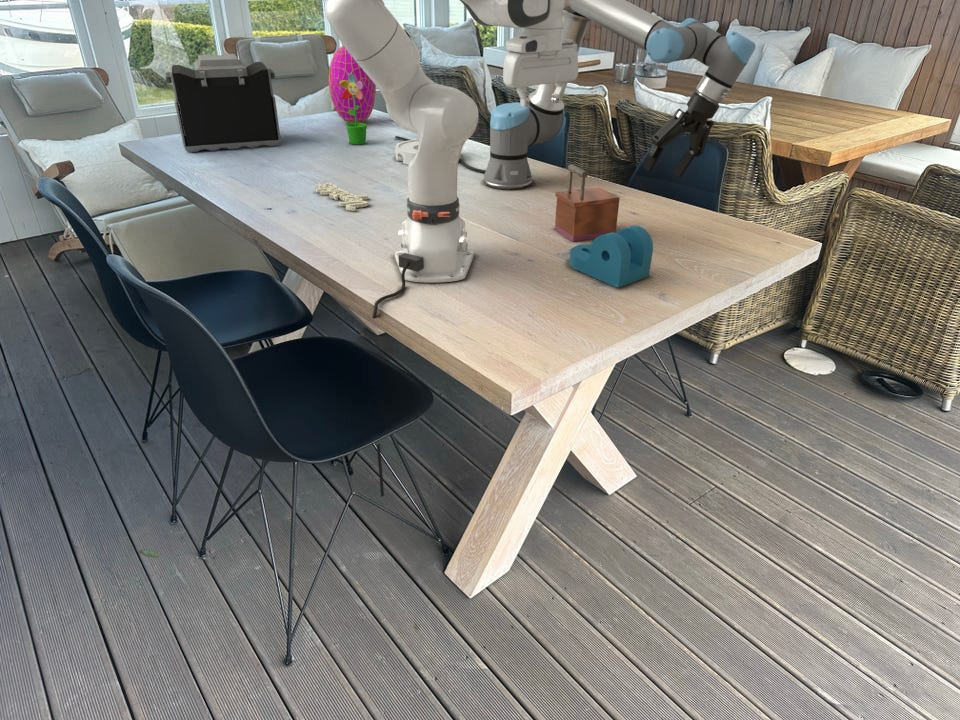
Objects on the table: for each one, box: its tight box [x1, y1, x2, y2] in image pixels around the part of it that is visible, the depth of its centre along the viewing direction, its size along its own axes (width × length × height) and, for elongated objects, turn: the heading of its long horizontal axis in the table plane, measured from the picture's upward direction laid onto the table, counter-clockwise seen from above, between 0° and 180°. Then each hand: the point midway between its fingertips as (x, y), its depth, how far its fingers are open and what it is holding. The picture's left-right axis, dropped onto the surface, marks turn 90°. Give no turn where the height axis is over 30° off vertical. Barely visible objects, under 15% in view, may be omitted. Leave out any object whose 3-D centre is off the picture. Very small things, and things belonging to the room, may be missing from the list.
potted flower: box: [339, 73, 368, 145], centre depth 255 cm, size 9×8×25 cm
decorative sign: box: [315, 182, 369, 212], centre depth 203 cm, size 26×1×10 cm
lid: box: [554, 164, 621, 207], centre depth 173 cm, size 13×10×8 cm
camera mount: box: [568, 224, 654, 289], centre depth 156 cm, size 18×10×10 cm, turn 39°
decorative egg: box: [328, 45, 377, 124], centre depth 286 cm, size 19×19×30 cm
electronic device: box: [164, 53, 282, 153], centre depth 252 cm, size 37×22×30 cm, turn 111°
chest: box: [554, 197, 620, 242], centre depth 178 cm, size 13×10×9 cm
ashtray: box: [394, 138, 462, 165], centre depth 243 cm, size 23×23×4 cm
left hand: (540, 103), depth 166 cm, fingers open, 8 cm apart
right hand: (661, 172), depth 185 cm, fingers open, 13 cm apart
